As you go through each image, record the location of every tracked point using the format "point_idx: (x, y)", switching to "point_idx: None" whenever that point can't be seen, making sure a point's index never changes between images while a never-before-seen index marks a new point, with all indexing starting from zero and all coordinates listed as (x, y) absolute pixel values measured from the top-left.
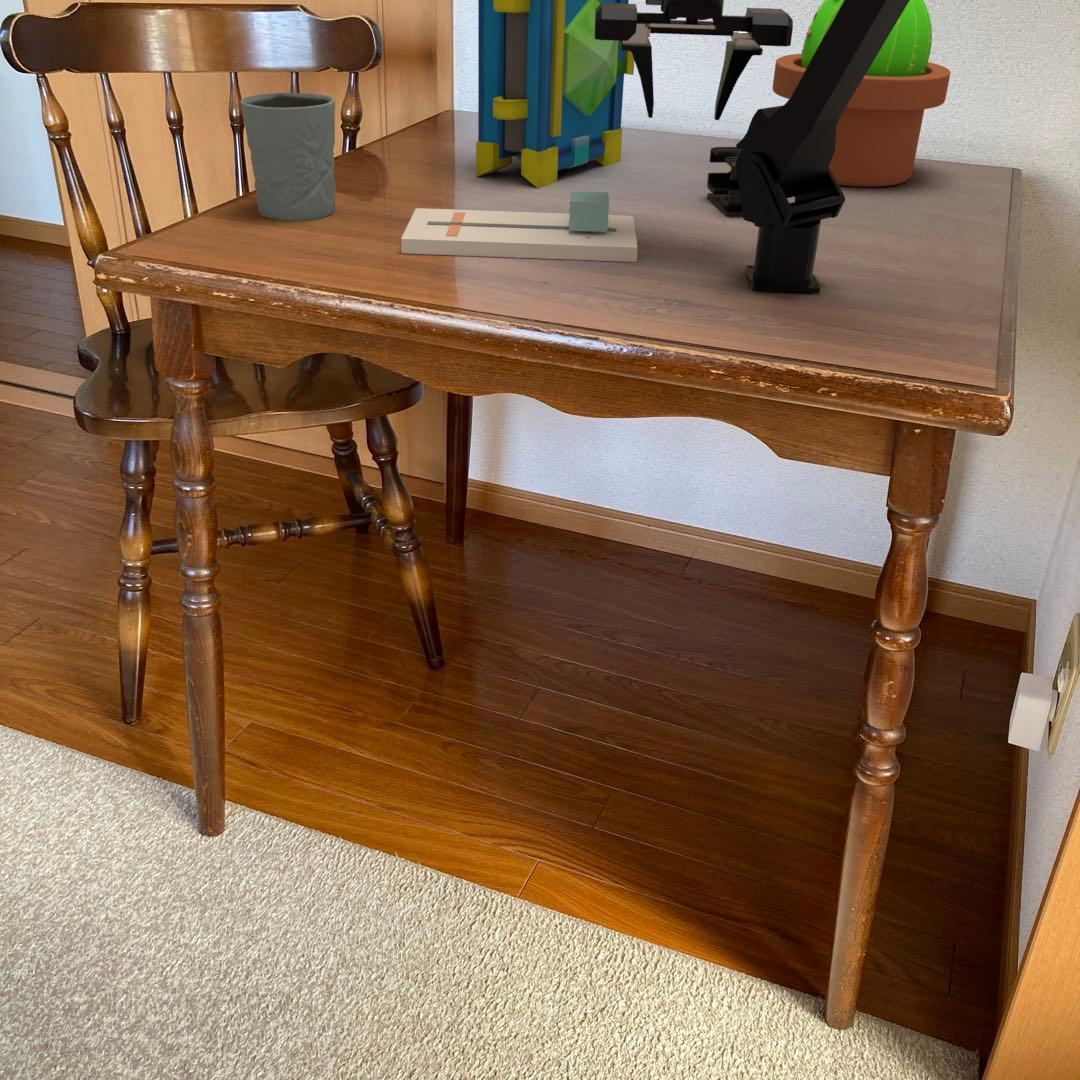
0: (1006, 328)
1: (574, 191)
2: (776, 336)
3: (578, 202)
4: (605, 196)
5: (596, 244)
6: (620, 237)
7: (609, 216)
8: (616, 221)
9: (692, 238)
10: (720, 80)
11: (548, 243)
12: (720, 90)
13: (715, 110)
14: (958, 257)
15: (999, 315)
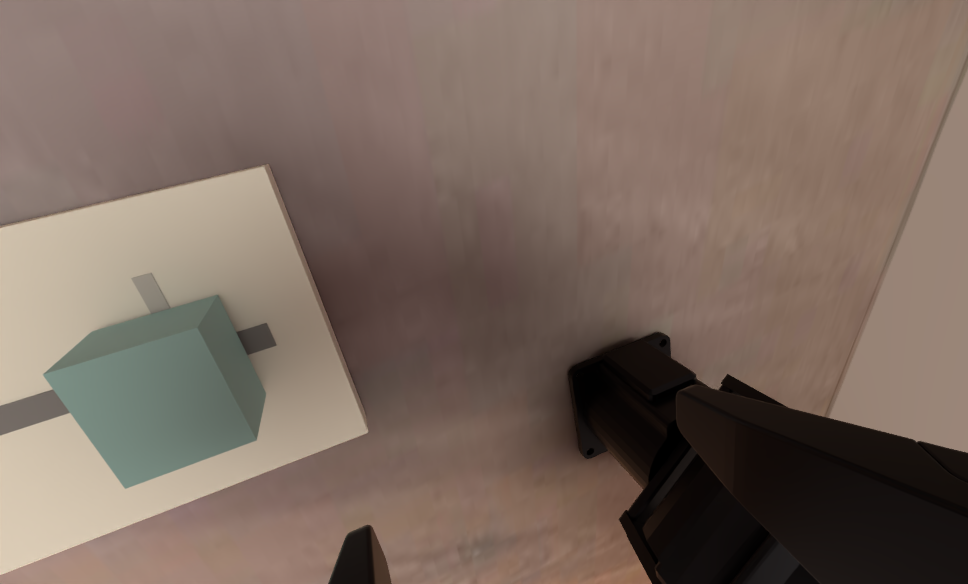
0: (828, 417)
1: (64, 375)
2: (603, 573)
3: (156, 476)
4: (213, 383)
5: (269, 459)
6: (305, 385)
7: (190, 199)
8: (237, 248)
9: (446, 184)
10: (883, 502)
11: (147, 512)
12: (814, 543)
13: (705, 428)
14: (891, 127)
15: (838, 379)
